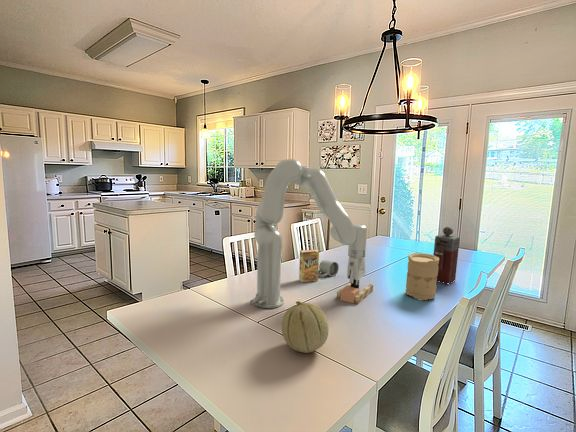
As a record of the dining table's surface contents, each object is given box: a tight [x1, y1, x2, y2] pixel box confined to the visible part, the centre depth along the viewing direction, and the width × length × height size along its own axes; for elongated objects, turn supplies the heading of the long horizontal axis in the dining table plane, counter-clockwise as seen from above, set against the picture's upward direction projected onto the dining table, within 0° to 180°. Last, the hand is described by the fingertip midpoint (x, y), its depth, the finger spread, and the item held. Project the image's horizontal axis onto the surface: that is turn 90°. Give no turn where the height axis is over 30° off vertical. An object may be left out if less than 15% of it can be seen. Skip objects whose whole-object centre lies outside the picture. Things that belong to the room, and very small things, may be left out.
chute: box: [336, 283, 374, 305], centre depth 146 cm, size 18×10×3 cm, turn 146°
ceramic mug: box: [318, 259, 340, 278], centre depth 172 cm, size 11×8×8 cm
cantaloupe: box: [281, 300, 330, 354], centre depth 101 cm, size 15×15×15 cm
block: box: [339, 285, 360, 304], centre depth 141 cm, size 6×6×4 cm
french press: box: [433, 226, 461, 285], centre depth 165 cm, size 9×11×28 cm
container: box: [405, 252, 439, 301], centre depth 146 cm, size 13×13×18 cm
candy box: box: [298, 249, 320, 283], centre depth 162 cm, size 9×4×15 cm, turn 107°
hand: (354, 292), depth 146 cm, fingers closed
